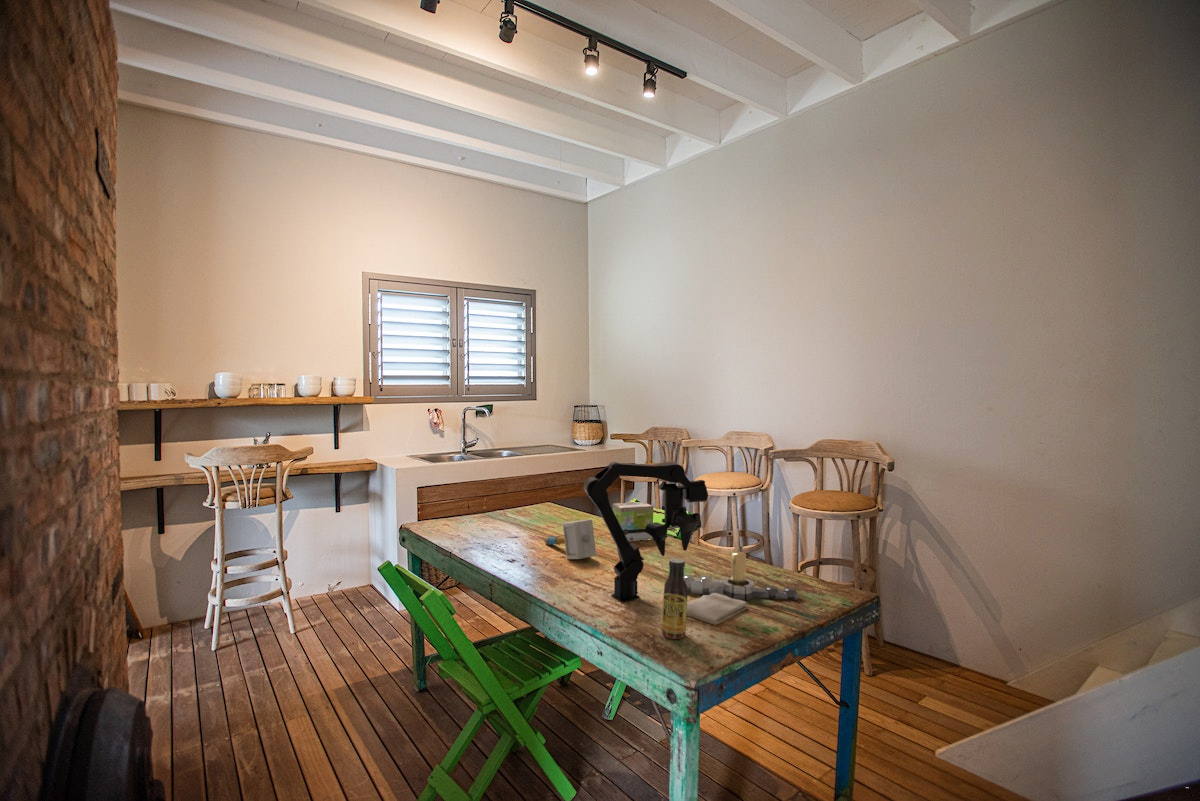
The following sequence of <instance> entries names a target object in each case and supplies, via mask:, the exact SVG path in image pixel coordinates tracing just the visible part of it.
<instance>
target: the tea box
mask: <svg viewBox="0 0 1200 801" xmlns="http://www.w3.org/2000/svg"><path fill="white" fill-rule="evenodd" d="M612 510H613V512H614V514H615V516H616V518H617V520H618V522H619V524H620V526H621V528H622V530H623V532H624V534H625V536H626V538H627V540H628V541H629V542H640V540H643V541H649V540H648V539H652V540H654V539H653V537H652V536H651V535H649V534H648V533H646V525H647V524H649V523H654V506H653V505H651V504H649V503H647V502H645V501H638V502H621V503H618V502H617V503H616V502H615V503H612Z"/></svg>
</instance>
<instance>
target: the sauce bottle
mask: <svg viewBox="0 0 1200 801" xmlns="http://www.w3.org/2000/svg"><path fill="white" fill-rule="evenodd" d="M668 565H669V566H668V567H669V571H668V577H667V579H666V581H665V583H664V589H663V595H662V596H663V598H662V614H661V615H662V616H661V631H662V632H661V634H662V636H663V637H665V638H667V639H669V640H681V639H683V638H684V637H685V636H686V630H687V617H688V616H687V604H688V593H687V585H686V583H685V581H684V575H685V574H684V573H685V566H686V561H685V560H684V559H682V558H678V557H677V558H675V557H674V558H669V562H668Z"/></svg>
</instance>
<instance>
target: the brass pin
mask: <svg viewBox="0 0 1200 801" xmlns="http://www.w3.org/2000/svg"><path fill="white" fill-rule="evenodd" d="M730 561H731V562H730V565H731V566H730V569H731V570H730V577H731V584H732V585H738V586H745V580H746V579H747V578H746V576H747V574H746V570H747V567H746V566H747V564H746V563H747V554H746V552H743V551H731V558H730Z"/></svg>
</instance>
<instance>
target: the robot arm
mask: <svg viewBox="0 0 1200 801" xmlns="http://www.w3.org/2000/svg"><path fill="white" fill-rule="evenodd" d="M685 472H686V471H685V469H684V467H683V466H682V465H680V464H678V463H675V462H673V461H668V462H661V463H656V464H647V463H646V464H643V463H627V462H618V461H612V462H609V464H608V465H607V466H606V467H603V469H601V470H600V471H599V472H597V473H596V474H595V475H594V476H590V477H588V478H586V479H585V480H584V483H583V490H584V492H585V493H586V495H587V496H588V497H589V499H590V500H591V501H592V503H593V504H594V505H595V507H596V508H597V509H598V512H599V513H600V515H601V518H602V519H603V522H604V524H605V526H606V527H607V530H608V531H609V534H610V536H611V537H612V539H613V542H614V544H615V545H616V548H617V549H616V550H617V554H618V557H619V561H618V562H617V563H616V564H615V565H614V566H613V571H614V573H615V574H616V576H615V577H614V579H613V580H614V592H613V593H611V597H613V598H614V599H616V600H618V601H620V602H622V603H625V602H629V601H632V600H637V598H638V599H640V597H641V596H640V595H638V577H639V574H640V573H642V571H643V569H644V560H645V559H644V558H643V556H642V555H641V551H640V549H639V547H638V546H637V545H636V544H635V543H634V542H633V543H631V544H630V541H629V542H628V540H627V538H626V536H625V534H624V532H623V530H622V528H621V526H620V524H619V522H618V520H617V518H616V516H615V514H614V512H613V507H612V506H611V503H610V500H609V499H610V498H609V494H608V490H607V489H609V488H610V487H611V485H612V484H614V482H616V480H617V479H618V478H619V477H635V478H650V479H658V480H661V481H662V482H661V483H659V485H657V489H659V490H661V491H664V496H663V497H664V499H663V500H664V503H663V504H664V505H661V509H662V510H664V518H661V523H660V522H656V521H653V523H649V524H647V525H646V533H648V534H649V535H651V536H652V537H653V539H652V540H653V541H654V543H655V545H656V546H657V549H658V552H659V553H660V555H661V556H662V557H665V553H666V539H667V538H668V531H669V530H674V529H679V533H680V540H681V546H682V550H683V551H687V549H688V547H689V545H690V544H689V543H690V542H691V538H692V536H693V534H694V533H695V532H696V531H699V528H702V520H701V514H699V513H698V512H695V513H687V507H686V506H684V501H686V502H687V503H704V502H708V498H709V492H708V489H707V486H706V481H705V480H703V479H697V480H689V479H688V477H687V476H686V473H685ZM667 482H669V483H667ZM677 484H680V485H677Z"/></svg>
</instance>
